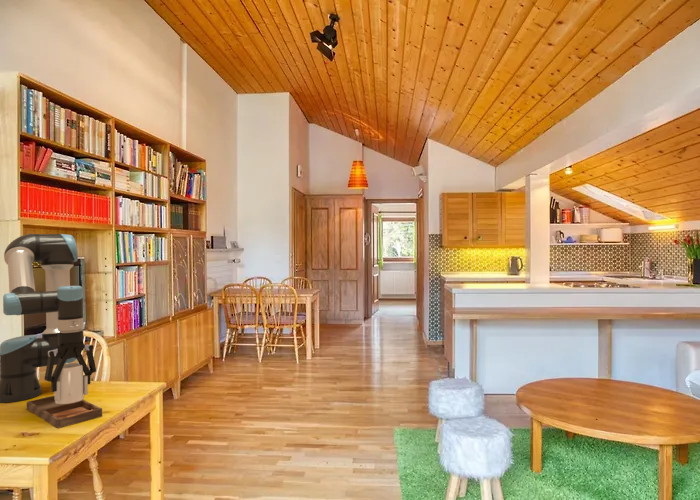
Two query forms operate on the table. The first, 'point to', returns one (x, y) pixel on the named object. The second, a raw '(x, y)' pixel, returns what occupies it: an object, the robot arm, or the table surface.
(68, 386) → the mug
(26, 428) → the table surface
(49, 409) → the rack
